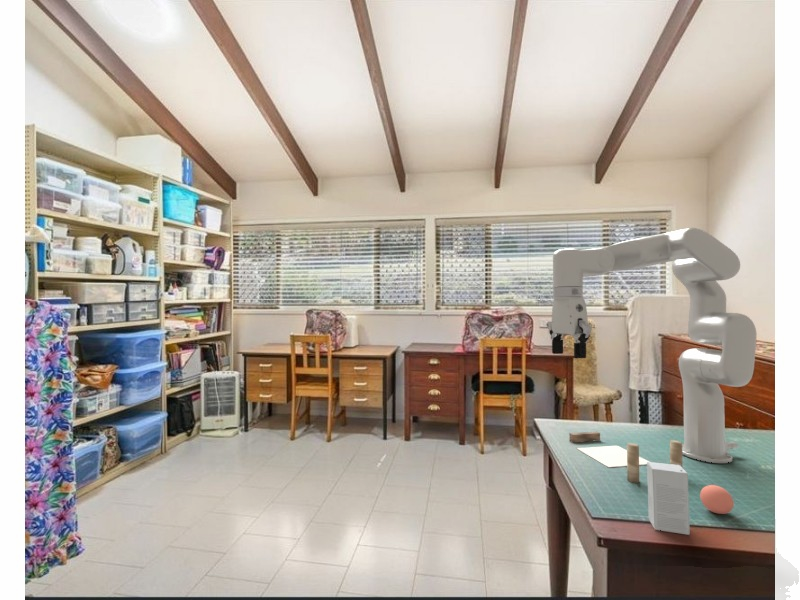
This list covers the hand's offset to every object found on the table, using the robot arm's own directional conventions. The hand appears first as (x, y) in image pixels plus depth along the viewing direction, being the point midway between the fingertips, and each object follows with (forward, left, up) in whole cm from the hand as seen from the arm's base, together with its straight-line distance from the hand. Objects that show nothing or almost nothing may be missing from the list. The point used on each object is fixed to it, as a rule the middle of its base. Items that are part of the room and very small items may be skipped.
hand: (568, 355), depth 104 cm
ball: (-18, +26, -28) cm, 42 cm away
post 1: (-11, +10, -31) cm, 34 cm away
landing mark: (-18, -5, -31) cm, 36 cm away
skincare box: (-3, +29, -31) cm, 42 cm away
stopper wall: (-18, -18, -31) cm, 40 cm away
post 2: (-24, +10, -31) cm, 40 cm away
